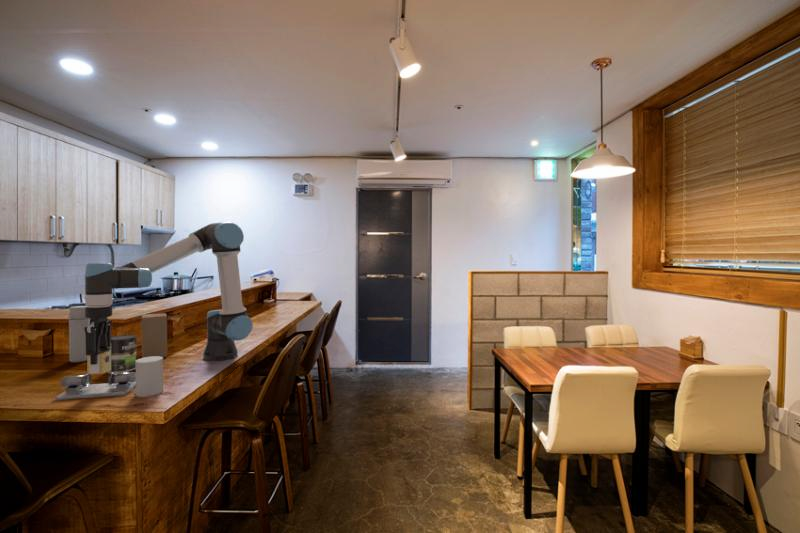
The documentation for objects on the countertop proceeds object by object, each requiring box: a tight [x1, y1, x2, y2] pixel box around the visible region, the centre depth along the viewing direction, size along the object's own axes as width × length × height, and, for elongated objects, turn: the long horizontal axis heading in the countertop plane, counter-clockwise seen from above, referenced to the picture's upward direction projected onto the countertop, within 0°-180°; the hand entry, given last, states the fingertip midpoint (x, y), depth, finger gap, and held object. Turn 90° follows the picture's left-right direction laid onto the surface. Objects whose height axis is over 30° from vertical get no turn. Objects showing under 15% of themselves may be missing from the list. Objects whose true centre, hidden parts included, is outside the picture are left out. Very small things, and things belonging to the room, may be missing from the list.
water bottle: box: [67, 305, 90, 364], centre depth 167 cm, size 9×8×25 cm
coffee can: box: [106, 334, 138, 374], centre depth 155 cm, size 10×10×14 cm
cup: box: [135, 356, 164, 398], centre depth 130 cm, size 8×8×12 cm
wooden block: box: [141, 312, 168, 358], centre depth 176 cm, size 10×10×20 cm
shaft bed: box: [55, 371, 136, 401], centre depth 130 cm, size 21×11×7 cm, turn 105°
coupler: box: [86, 351, 110, 375], centre depth 130 cm, size 5×4×7 cm
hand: (98, 370), depth 130 cm, fingers closed on coupler, 4 cm apart
